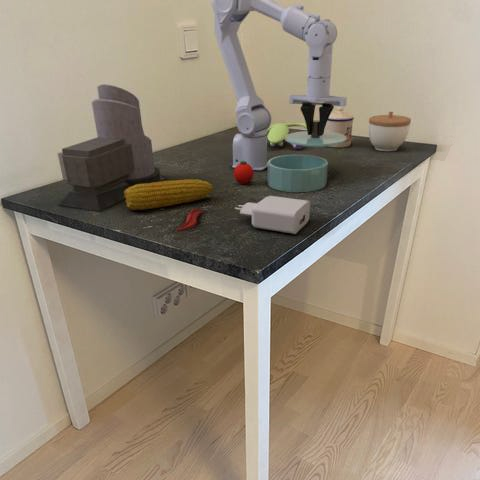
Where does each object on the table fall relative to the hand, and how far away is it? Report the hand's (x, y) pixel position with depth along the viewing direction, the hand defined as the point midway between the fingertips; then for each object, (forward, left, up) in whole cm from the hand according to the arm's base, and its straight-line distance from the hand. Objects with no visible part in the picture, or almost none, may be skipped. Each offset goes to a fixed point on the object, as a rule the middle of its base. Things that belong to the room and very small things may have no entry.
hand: (315, 134), depth 126 cm
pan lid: (0, 0, -1) cm, 1 cm away
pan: (-1, -10, -10) cm, 14 cm away
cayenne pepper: (-13, -44, -11) cm, 47 cm away
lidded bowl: (+13, +36, -11) cm, 40 cm away
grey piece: (-42, -32, -11) cm, 54 cm away
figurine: (-21, +33, -11) cm, 41 cm away
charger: (+3, -39, -11) cm, 40 cm away
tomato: (-14, -15, -8) cm, 22 cm away
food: (-23, -37, -11) cm, 45 cm away
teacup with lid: (-3, +37, -11) cm, 39 cm away
